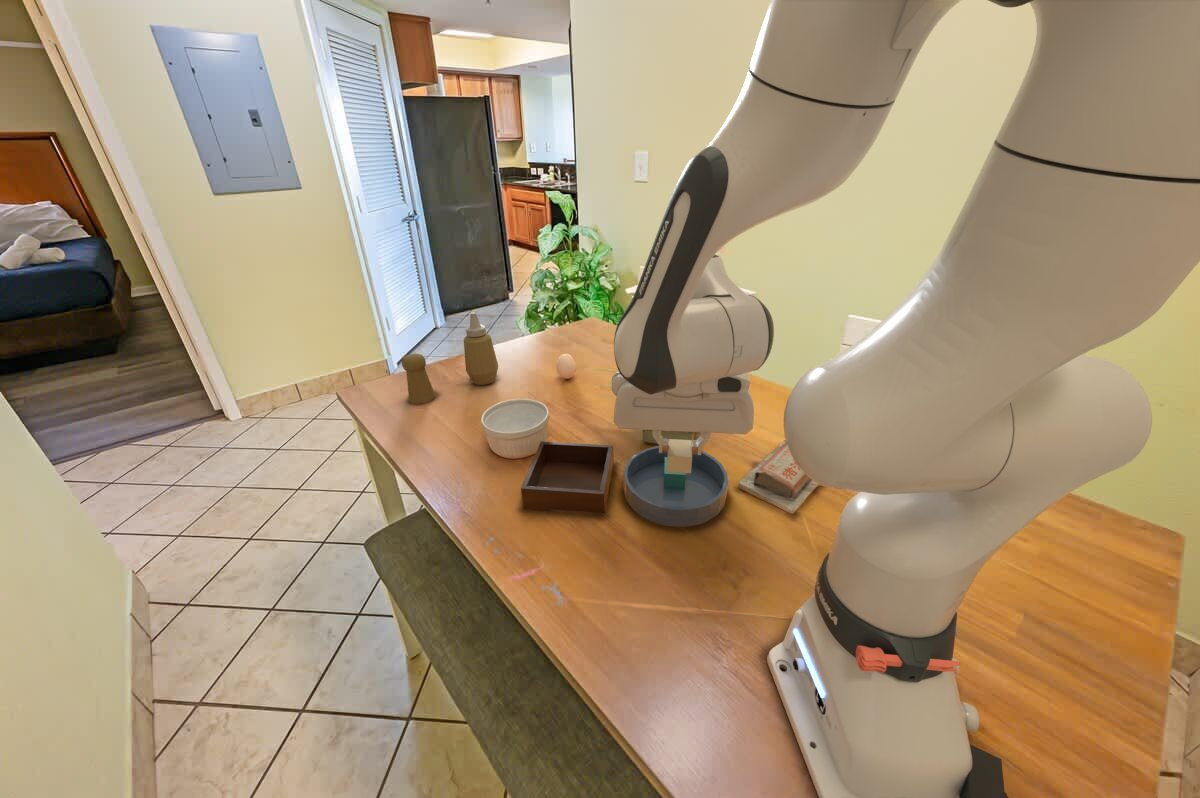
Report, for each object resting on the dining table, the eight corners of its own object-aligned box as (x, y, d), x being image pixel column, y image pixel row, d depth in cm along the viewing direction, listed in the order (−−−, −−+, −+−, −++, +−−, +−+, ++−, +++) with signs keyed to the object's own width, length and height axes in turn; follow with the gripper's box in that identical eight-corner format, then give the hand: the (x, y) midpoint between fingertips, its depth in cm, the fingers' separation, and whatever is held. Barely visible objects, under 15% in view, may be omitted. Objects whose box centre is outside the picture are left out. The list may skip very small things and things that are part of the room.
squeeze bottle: (496, 387, 118) (486, 318, 109) (464, 388, 118) (451, 319, 109) (502, 373, 125) (493, 307, 116) (472, 373, 125) (460, 307, 116)
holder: (604, 515, 77) (604, 494, 75) (523, 509, 79) (520, 488, 77) (613, 464, 89) (613, 445, 87) (542, 460, 91) (540, 441, 88)
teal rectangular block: (684, 488, 81) (685, 474, 80) (663, 487, 82) (664, 473, 80) (684, 471, 86) (685, 458, 84) (664, 470, 86) (664, 456, 85)
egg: (572, 372, 124) (570, 348, 121) (579, 379, 120) (577, 355, 117) (554, 376, 122) (552, 352, 119) (561, 383, 118) (559, 359, 115)
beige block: (691, 473, 72) (692, 457, 71) (667, 472, 72) (667, 456, 71) (690, 455, 76) (691, 439, 75) (667, 454, 77) (668, 438, 75)
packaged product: (787, 424, 90) (841, 444, 84) (783, 445, 93) (836, 466, 87) (740, 467, 79) (798, 493, 73) (736, 489, 82) (792, 517, 75)
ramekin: (474, 442, 97) (468, 413, 93) (528, 419, 104) (524, 391, 101) (508, 472, 88) (503, 441, 84) (564, 444, 95) (562, 414, 92)
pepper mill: (411, 406, 111) (400, 363, 105) (407, 395, 115) (396, 354, 110) (437, 399, 113) (428, 357, 108) (432, 389, 118) (423, 348, 112)
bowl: (730, 532, 73) (733, 513, 71) (619, 524, 75) (619, 505, 73) (720, 465, 88) (722, 447, 86) (628, 459, 90) (628, 442, 88)
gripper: (608, 377, 65) (610, 460, 72) (762, 382, 63) (749, 467, 69) (613, 359, 71) (615, 437, 77) (755, 363, 68) (744, 444, 75)
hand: (679, 452), depth 73 cm, fingers closed on beige block, 3 cm apart
